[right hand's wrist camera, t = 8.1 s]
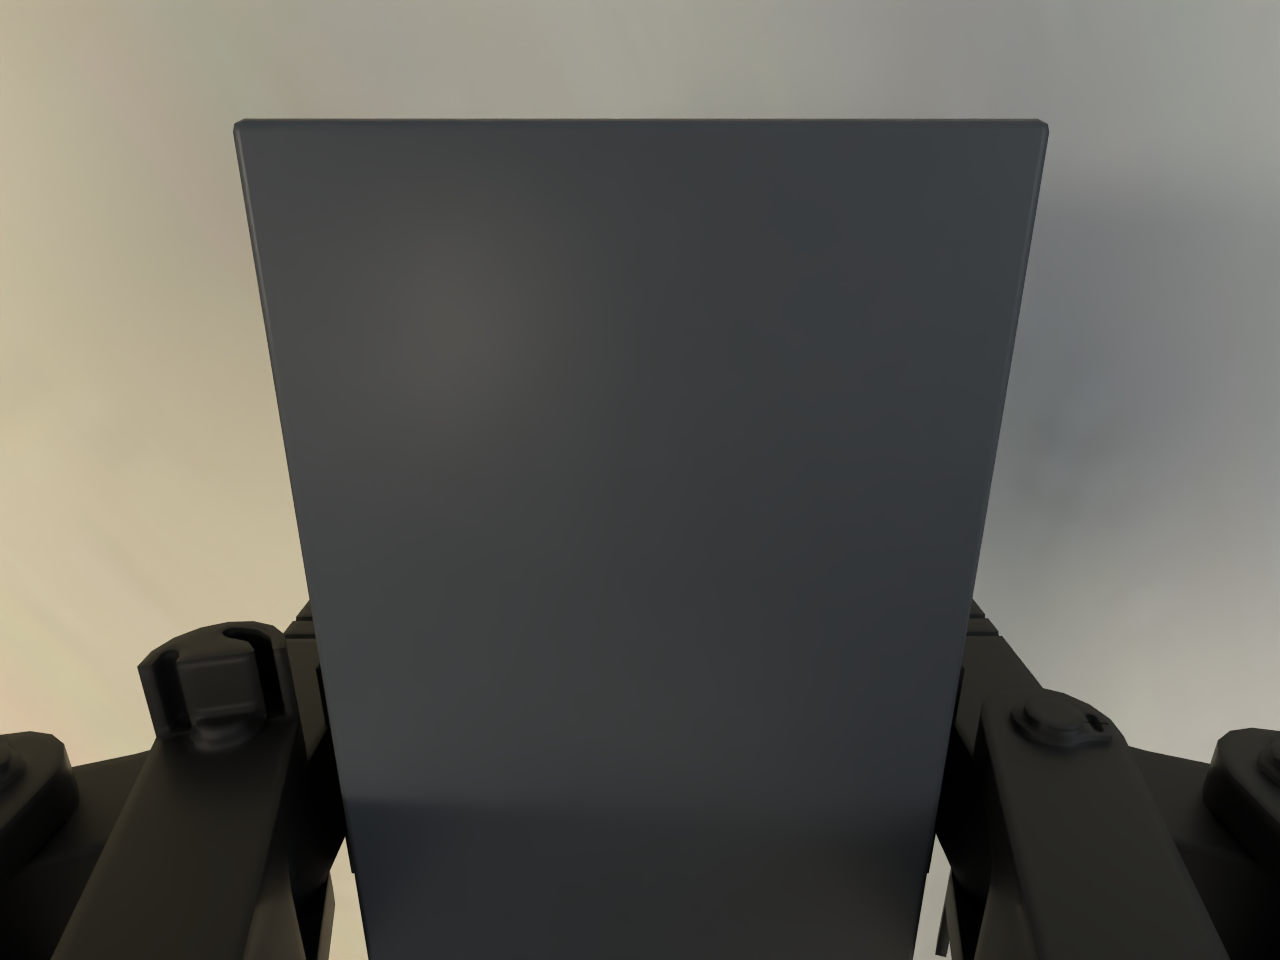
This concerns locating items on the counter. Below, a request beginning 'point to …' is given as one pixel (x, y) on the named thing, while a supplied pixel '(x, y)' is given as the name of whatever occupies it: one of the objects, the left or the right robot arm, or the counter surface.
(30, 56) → the counter surface
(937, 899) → the counter surface
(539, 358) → the beam
